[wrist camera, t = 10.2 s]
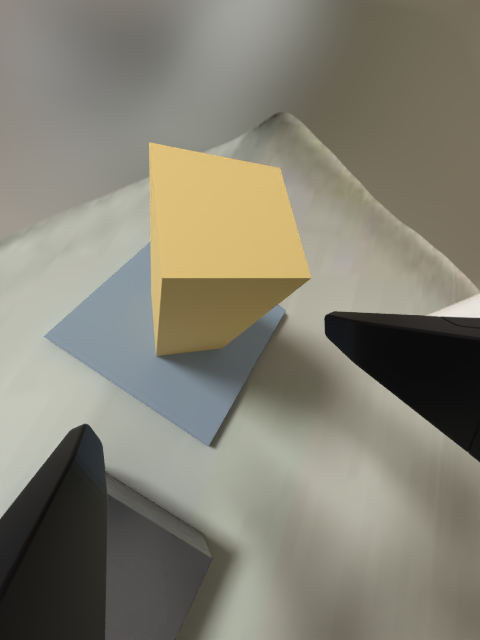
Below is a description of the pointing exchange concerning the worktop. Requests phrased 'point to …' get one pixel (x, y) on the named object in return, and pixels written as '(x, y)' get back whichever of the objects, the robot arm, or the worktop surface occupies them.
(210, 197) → the mustard block
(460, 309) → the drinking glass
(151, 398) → the slate mat
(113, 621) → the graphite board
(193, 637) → the worktop surface
